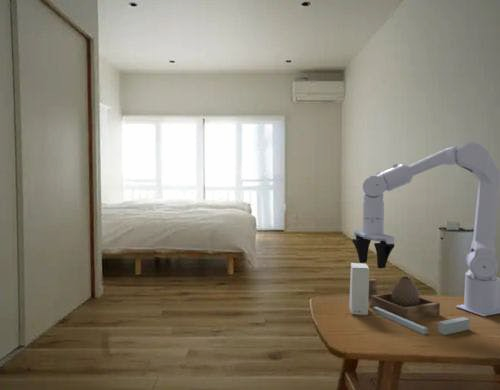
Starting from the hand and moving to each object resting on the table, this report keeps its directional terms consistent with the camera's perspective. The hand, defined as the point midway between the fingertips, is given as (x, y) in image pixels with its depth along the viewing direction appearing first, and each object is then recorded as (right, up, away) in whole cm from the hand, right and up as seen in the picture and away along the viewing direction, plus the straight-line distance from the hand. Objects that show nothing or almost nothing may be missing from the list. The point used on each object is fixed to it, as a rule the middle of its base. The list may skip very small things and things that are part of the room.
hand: (372, 265), depth 116 cm
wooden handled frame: (+3, -10, -8) cm, 13 cm away
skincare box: (-7, -10, -12) cm, 17 cm away
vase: (+5, -10, -11) cm, 16 cm away
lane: (+6, -10, -18) cm, 21 cm away
